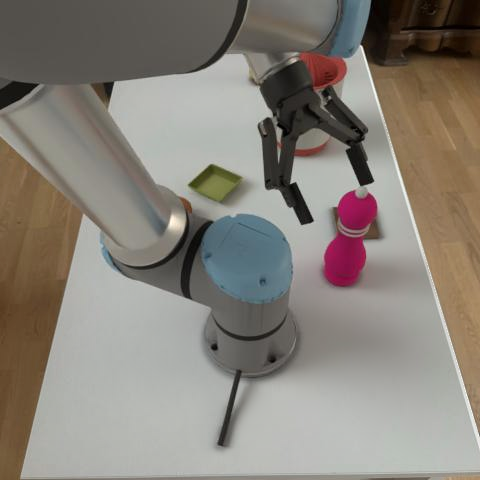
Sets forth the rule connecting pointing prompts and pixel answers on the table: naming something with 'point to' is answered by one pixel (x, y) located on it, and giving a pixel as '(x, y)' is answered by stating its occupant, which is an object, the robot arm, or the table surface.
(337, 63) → the citrus juicer
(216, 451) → the table surface
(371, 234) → the wooden coaster
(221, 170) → the olive green square tray
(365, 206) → the pepper mill
